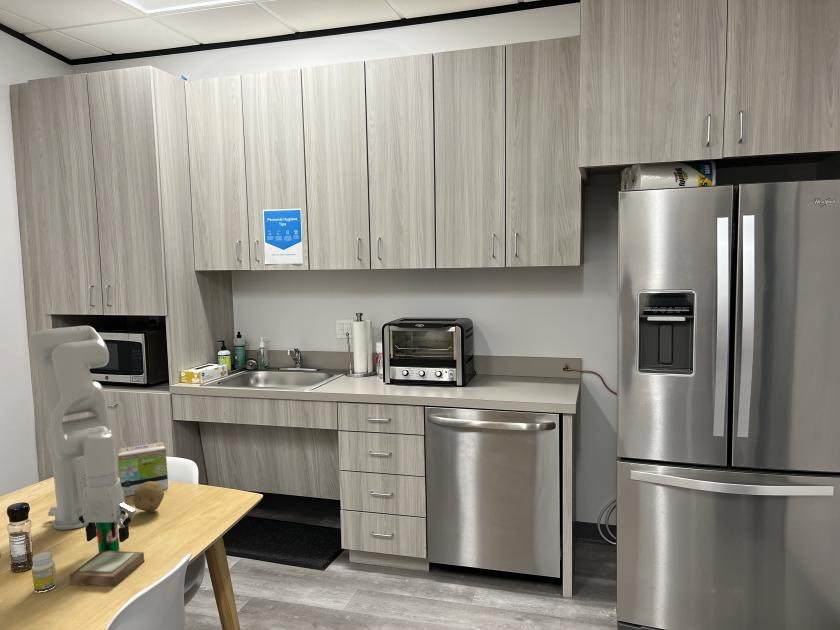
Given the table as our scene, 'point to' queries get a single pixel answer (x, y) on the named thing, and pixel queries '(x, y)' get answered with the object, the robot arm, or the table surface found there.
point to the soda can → (107, 536)
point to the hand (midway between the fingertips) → (108, 539)
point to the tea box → (142, 466)
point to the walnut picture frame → (107, 568)
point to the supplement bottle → (43, 572)
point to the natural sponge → (148, 496)
